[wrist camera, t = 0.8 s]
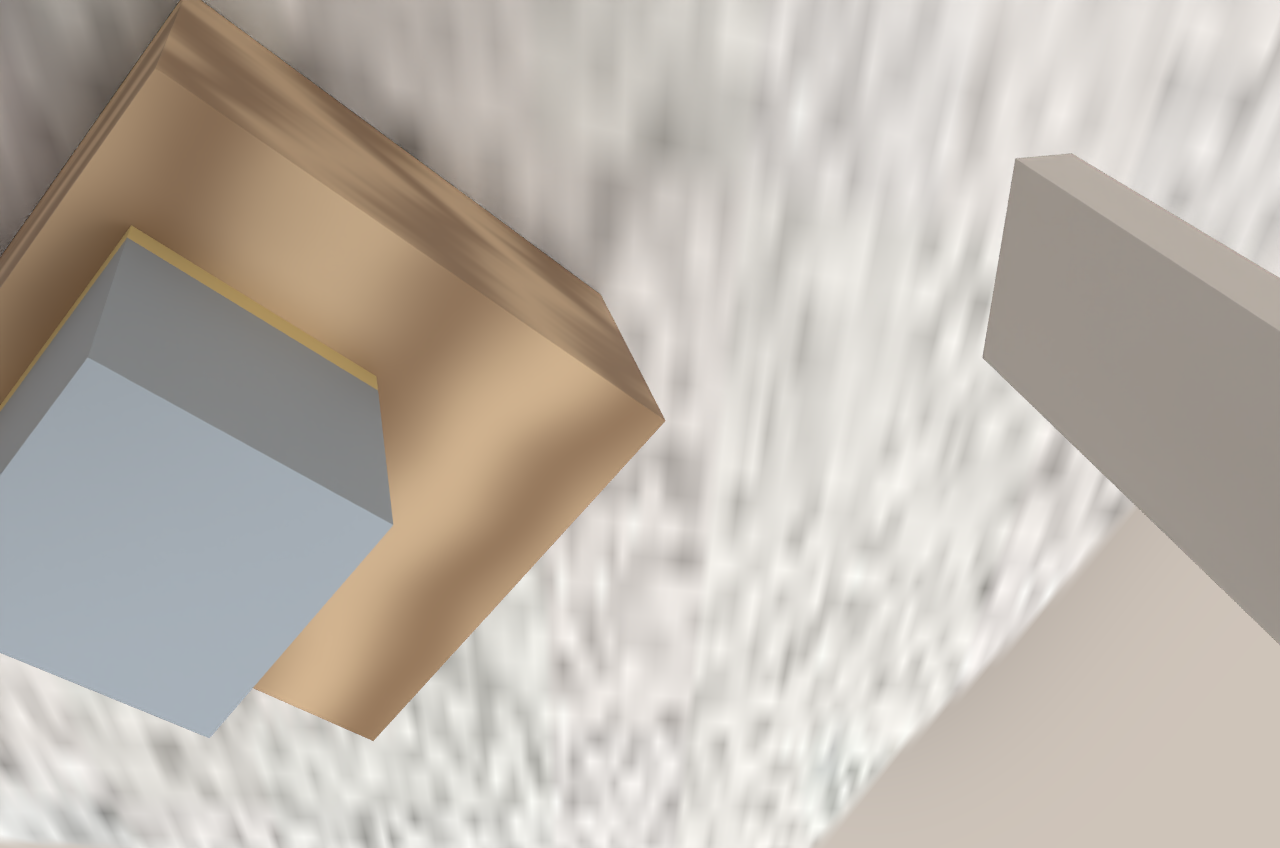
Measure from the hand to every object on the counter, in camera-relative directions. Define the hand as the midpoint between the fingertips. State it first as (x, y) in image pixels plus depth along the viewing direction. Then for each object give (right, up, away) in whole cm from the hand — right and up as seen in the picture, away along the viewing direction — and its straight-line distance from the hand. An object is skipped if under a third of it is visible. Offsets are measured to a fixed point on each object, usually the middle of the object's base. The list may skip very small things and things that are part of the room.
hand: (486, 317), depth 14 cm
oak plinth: (-10, +2, +26) cm, 28 cm away
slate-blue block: (-10, -1, +17) cm, 20 cm away
